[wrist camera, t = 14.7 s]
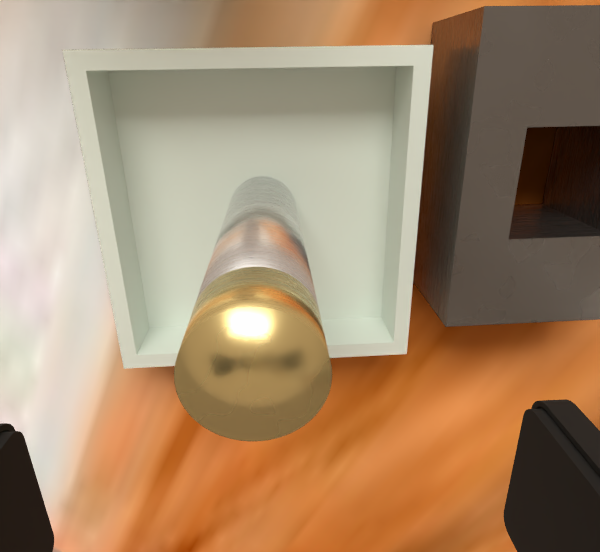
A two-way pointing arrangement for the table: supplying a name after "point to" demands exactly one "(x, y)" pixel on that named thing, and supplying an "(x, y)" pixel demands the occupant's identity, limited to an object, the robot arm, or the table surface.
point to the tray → (251, 163)
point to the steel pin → (255, 324)
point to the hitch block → (511, 167)
